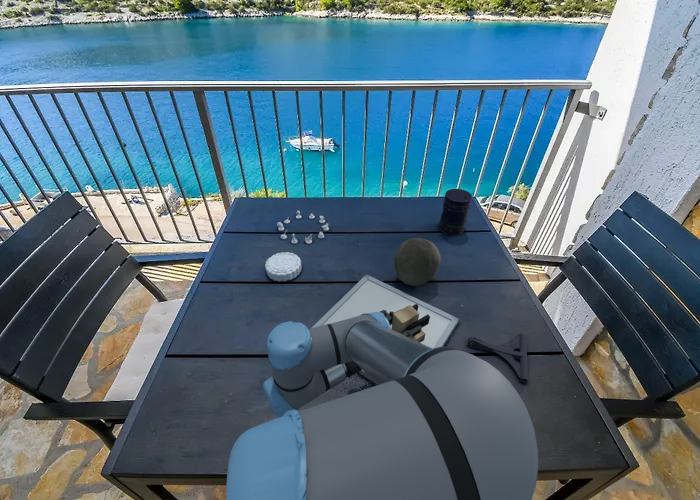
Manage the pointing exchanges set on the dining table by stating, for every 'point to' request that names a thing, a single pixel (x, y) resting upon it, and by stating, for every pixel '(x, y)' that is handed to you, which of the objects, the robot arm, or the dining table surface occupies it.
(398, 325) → the eraser
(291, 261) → the mooncake
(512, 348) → the bracket
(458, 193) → the storage jar
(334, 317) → the board
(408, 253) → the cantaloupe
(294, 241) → the game piece set
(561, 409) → the dining table surface
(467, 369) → the robot arm
